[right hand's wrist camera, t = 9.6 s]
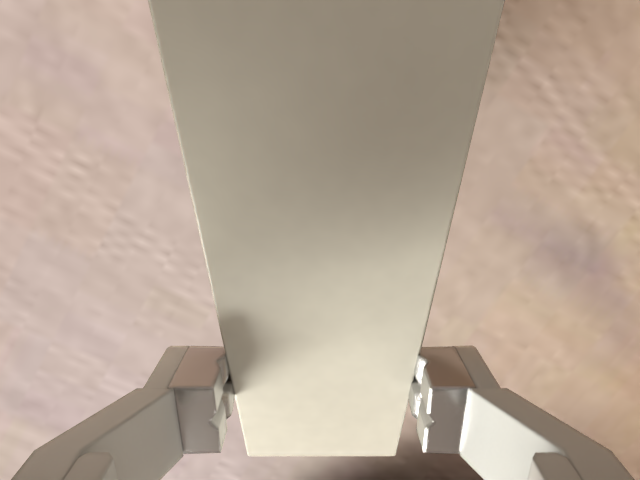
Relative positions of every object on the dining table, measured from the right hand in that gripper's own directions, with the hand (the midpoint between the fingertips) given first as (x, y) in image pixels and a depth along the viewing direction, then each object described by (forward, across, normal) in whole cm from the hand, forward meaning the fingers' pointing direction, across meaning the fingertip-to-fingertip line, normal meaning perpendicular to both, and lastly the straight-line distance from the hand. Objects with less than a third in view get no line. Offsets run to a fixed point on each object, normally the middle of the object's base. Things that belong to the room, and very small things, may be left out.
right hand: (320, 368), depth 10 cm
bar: (+5, 0, -10) cm, 11 cm away
